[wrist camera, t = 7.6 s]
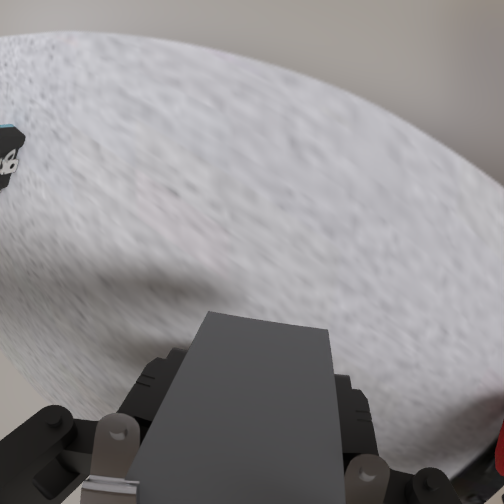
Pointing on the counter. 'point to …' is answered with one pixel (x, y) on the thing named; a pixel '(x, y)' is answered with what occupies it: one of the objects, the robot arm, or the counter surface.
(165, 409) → the charcoal tile
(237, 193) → the counter surface
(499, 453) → the strawberry
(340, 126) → the counter surface
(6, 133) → the push button
